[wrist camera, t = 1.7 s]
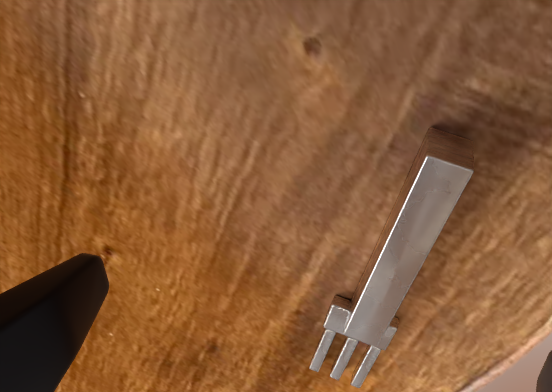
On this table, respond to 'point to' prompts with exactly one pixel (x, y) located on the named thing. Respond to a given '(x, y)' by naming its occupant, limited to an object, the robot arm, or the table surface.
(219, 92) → the table surface
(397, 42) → the table surface
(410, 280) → the fork
